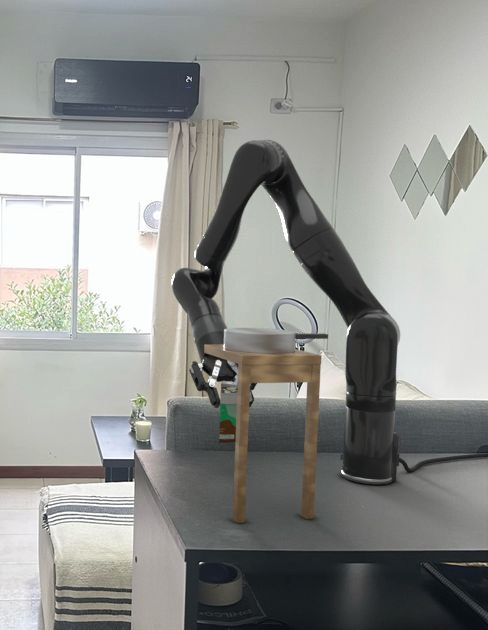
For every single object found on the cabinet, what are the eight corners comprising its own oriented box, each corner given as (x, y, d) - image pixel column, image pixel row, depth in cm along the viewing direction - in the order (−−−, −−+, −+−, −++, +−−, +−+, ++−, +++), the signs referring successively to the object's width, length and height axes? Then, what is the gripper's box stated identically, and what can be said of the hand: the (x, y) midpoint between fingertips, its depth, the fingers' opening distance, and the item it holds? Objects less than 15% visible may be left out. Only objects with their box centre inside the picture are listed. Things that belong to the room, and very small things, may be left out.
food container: (251, 446, 143) (253, 395, 142) (218, 444, 144) (220, 393, 143) (249, 432, 155) (251, 384, 154) (219, 430, 156) (221, 382, 155)
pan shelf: (297, 488, 141) (304, 327, 139) (345, 517, 126) (353, 335, 123) (199, 492, 137) (204, 326, 135) (236, 523, 122) (243, 335, 119)
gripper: (186, 329, 157) (205, 395, 146) (249, 329, 159) (273, 394, 149) (176, 351, 162) (195, 416, 152) (238, 351, 165) (260, 414, 154)
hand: (233, 405), depth 150 cm, fingers closed on food container, 6 cm apart
